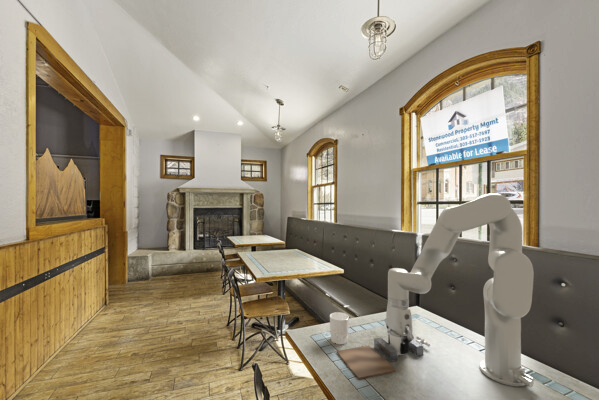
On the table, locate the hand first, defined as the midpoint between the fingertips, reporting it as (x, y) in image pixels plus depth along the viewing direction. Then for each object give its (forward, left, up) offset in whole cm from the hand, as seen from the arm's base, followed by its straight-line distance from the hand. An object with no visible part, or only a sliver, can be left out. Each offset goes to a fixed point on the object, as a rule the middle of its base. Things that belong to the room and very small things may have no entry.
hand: (398, 348), depth 102 cm
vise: (0, -3, -1) cm, 3 cm away
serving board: (-2, +16, -1) cm, 16 cm away
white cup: (+14, +18, -1) cm, 23 cm away
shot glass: (0, 0, -1) cm, 1 cm away
